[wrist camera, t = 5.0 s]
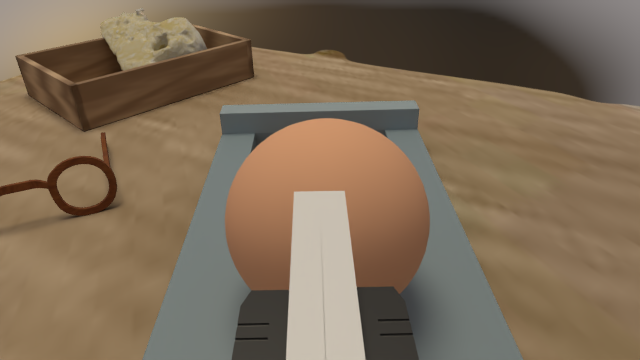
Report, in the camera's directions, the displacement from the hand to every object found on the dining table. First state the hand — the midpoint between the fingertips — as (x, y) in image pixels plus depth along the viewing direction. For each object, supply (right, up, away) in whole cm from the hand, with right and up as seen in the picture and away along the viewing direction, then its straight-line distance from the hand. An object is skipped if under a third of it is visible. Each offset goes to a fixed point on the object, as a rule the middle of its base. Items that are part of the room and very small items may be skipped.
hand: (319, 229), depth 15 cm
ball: (0, 0, +9) cm, 9 cm away
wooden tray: (-23, +14, +49) cm, 56 cm away
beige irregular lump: (-23, +14, +50) cm, 57 cm away
